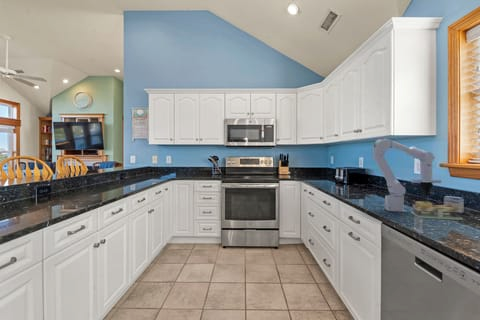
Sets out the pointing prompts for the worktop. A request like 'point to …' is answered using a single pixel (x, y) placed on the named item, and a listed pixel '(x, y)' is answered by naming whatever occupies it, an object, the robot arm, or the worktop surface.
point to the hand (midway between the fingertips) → (426, 195)
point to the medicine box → (454, 202)
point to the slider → (423, 204)
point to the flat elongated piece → (438, 208)
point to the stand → (437, 215)
